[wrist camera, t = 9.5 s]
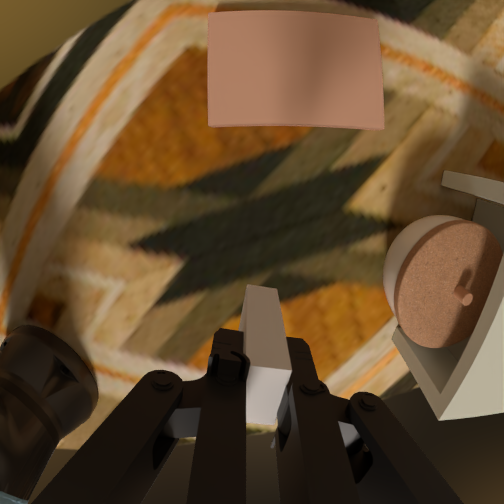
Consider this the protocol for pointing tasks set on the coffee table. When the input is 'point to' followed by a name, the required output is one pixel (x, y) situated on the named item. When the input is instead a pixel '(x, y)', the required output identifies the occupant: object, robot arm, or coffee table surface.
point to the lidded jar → (440, 278)
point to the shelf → (479, 342)
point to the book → (294, 70)
